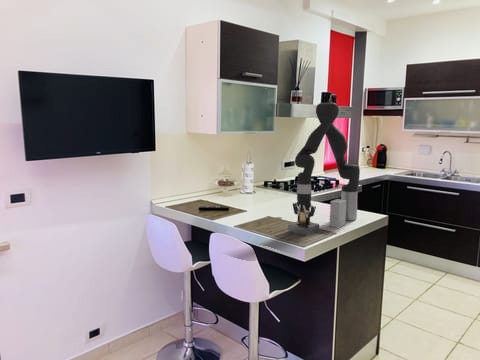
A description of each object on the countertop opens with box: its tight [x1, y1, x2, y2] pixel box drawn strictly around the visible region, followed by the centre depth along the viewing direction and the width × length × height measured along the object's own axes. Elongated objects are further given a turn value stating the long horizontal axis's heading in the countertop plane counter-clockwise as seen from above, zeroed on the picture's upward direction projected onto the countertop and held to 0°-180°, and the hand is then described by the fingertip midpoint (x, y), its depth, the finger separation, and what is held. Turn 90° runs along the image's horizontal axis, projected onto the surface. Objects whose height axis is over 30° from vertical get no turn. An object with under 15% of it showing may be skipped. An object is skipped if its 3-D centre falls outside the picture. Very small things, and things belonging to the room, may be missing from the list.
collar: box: [287, 220, 320, 237], centre depth 208 cm, size 12×12×4 cm
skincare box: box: [329, 198, 347, 229], centre depth 217 cm, size 8×6×15 cm
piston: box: [300, 211, 308, 226], centre depth 207 cm, size 4×4×8 cm
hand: (303, 222), depth 207 cm, fingers closed on piston, 4 cm apart
